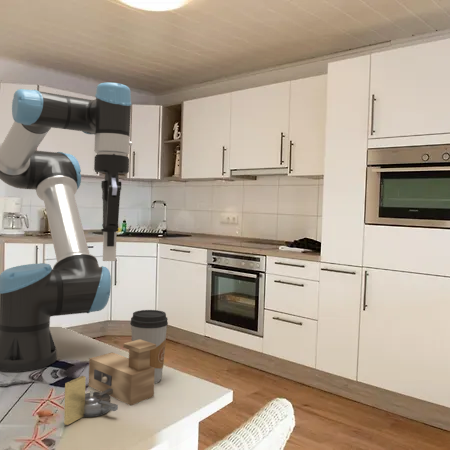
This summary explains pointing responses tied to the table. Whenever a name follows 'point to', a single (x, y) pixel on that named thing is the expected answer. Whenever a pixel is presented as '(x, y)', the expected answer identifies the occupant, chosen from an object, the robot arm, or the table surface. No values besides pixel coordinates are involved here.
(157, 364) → the coffee cup
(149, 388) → the wooden drawer box
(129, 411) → the table surface
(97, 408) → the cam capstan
